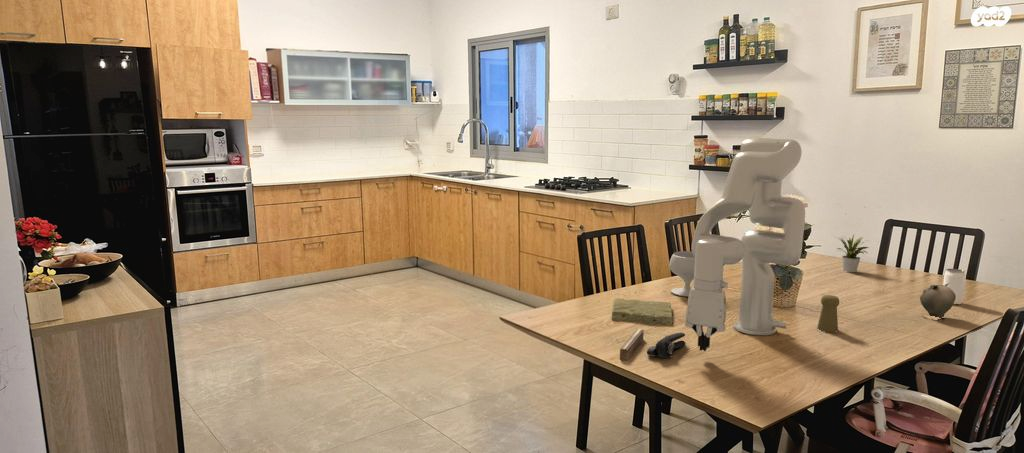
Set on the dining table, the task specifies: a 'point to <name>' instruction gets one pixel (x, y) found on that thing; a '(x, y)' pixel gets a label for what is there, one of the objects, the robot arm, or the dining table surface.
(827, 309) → the cork
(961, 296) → the can
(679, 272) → the chalice
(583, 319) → the dining table surface
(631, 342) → the walnut rail
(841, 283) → the dining table surface
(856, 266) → the house plant
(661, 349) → the can opener
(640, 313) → the decorative tile
